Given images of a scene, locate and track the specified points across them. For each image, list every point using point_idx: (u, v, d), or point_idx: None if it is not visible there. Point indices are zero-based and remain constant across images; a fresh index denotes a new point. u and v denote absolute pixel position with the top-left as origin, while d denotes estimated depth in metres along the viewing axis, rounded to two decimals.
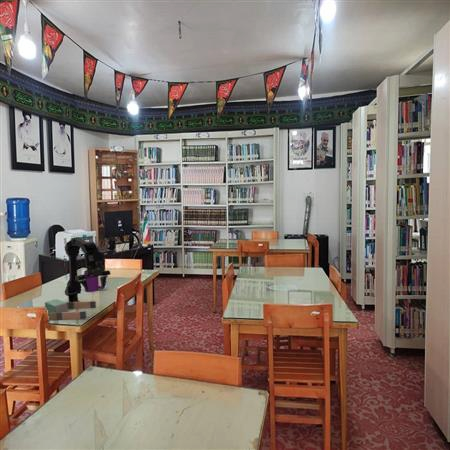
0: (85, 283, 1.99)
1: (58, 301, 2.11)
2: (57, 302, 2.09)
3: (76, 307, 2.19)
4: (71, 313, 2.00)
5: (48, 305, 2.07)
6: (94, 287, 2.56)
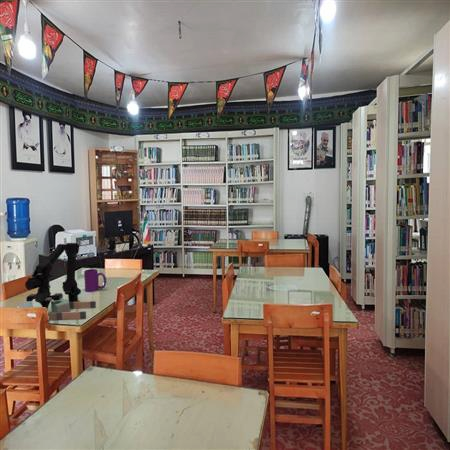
0: (41, 304, 2.07)
1: (63, 300, 2.11)
2: (61, 301, 2.09)
3: (76, 307, 2.19)
4: (71, 313, 2.00)
5: (52, 304, 2.09)
6: (94, 287, 2.56)
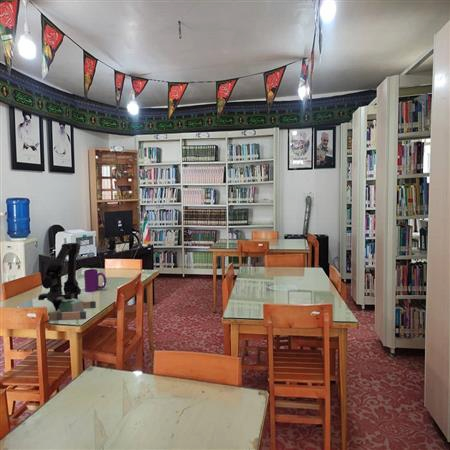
0: (53, 303, 2.06)
1: (73, 299, 2.13)
2: (73, 300, 2.11)
3: None
4: (71, 313, 2.00)
5: (64, 303, 2.10)
6: (94, 287, 2.56)
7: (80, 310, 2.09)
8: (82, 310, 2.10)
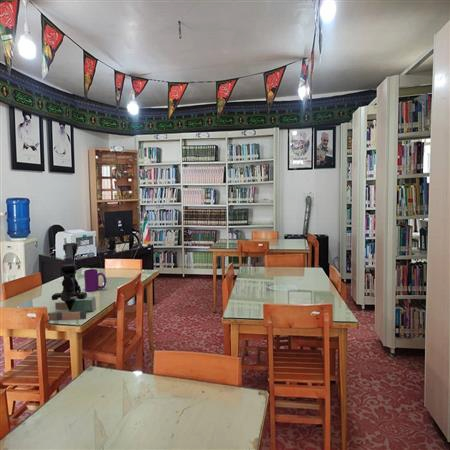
0: (66, 302, 2.07)
1: None
2: None
3: None
4: (71, 313, 2.00)
5: (77, 302, 2.11)
6: (94, 287, 2.56)
7: (94, 305, 2.17)
8: (95, 305, 2.19)
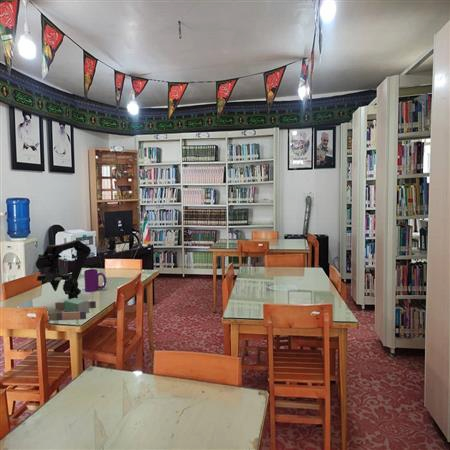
0: (51, 283, 2.14)
1: (78, 299, 2.14)
2: (77, 300, 2.12)
3: None
4: (71, 313, 2.00)
5: (69, 303, 2.10)
6: (94, 287, 2.56)
7: (86, 310, 2.10)
8: (87, 310, 2.11)
